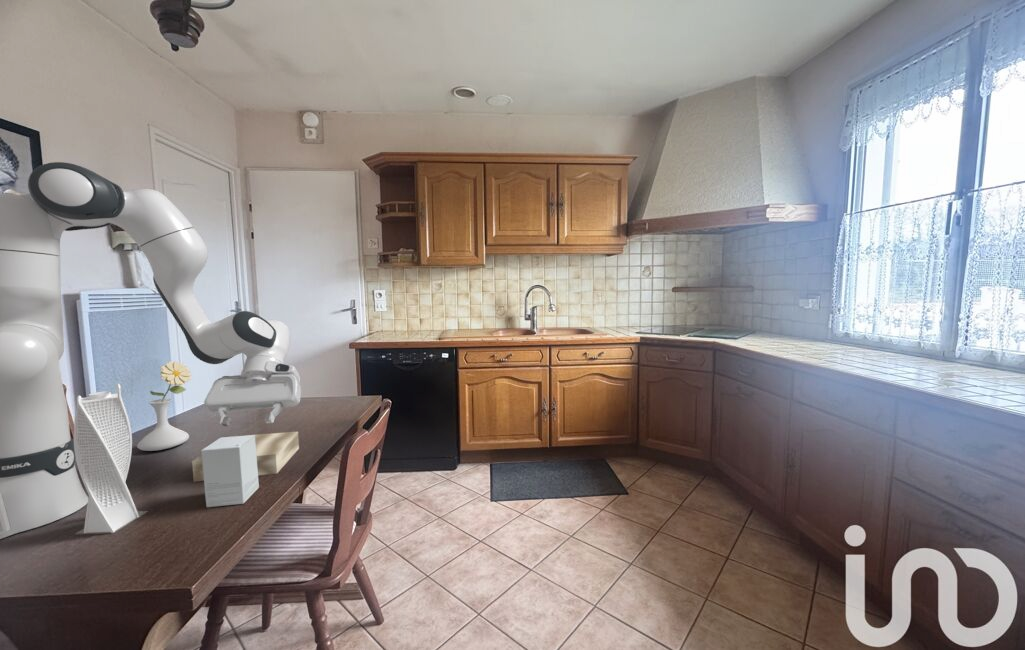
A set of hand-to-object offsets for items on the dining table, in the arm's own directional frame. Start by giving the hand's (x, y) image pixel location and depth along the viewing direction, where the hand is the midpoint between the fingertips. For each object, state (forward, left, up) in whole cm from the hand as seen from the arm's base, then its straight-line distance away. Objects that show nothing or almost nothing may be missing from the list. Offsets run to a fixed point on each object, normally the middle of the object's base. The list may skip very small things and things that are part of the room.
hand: (246, 423), depth 90 cm
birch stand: (-4, +10, -14) cm, 18 cm away
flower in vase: (-34, +29, -14) cm, 47 cm away
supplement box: (0, -8, -14) cm, 16 cm away
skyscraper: (-18, -14, -14) cm, 27 cm away
